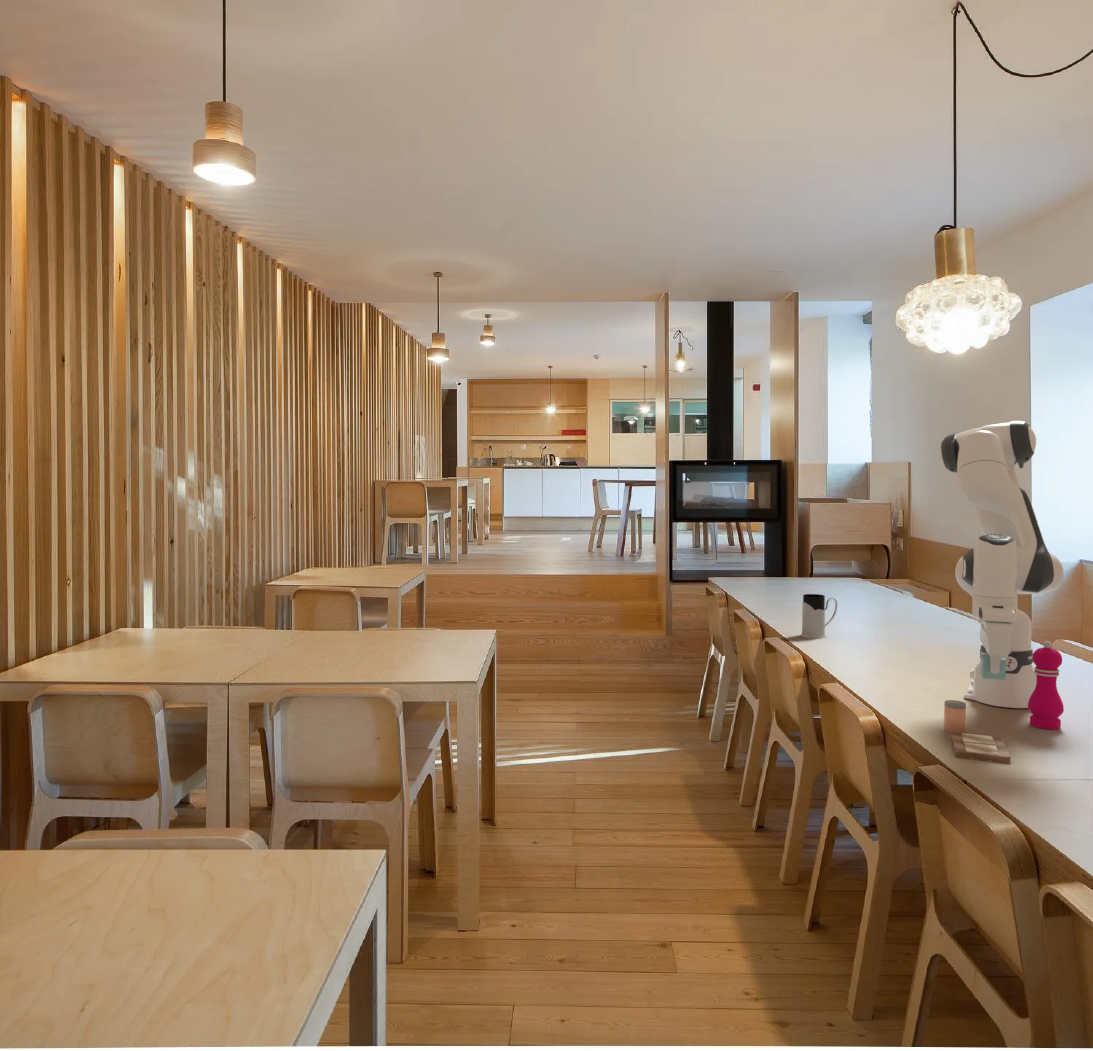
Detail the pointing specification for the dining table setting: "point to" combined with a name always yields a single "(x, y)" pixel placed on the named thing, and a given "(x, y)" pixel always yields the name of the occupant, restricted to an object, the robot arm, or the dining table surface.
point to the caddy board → (980, 747)
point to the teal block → (986, 669)
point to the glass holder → (814, 616)
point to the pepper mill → (1046, 689)
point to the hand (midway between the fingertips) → (992, 670)
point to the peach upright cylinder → (954, 716)
